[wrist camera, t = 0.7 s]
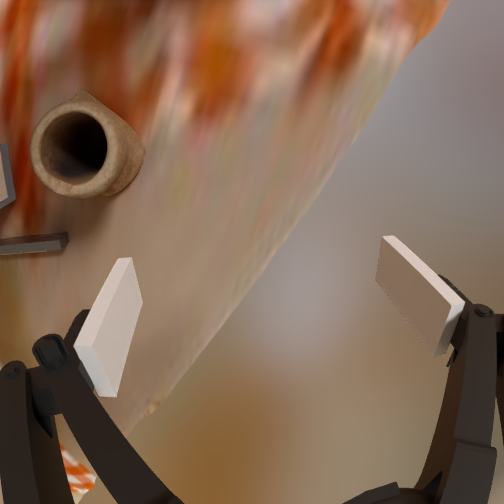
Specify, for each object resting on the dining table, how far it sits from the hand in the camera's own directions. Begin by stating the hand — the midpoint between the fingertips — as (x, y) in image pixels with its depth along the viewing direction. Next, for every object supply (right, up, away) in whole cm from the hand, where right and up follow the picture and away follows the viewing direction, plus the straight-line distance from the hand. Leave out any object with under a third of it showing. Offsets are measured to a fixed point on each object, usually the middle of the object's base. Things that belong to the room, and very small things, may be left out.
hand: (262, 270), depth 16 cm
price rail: (-39, +3, +25) cm, 46 cm away
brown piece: (-21, +16, +21) cm, 34 cm away
